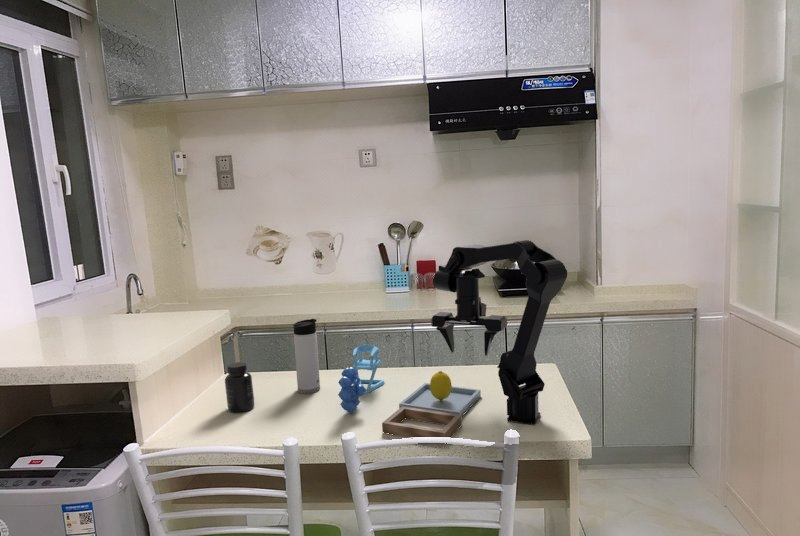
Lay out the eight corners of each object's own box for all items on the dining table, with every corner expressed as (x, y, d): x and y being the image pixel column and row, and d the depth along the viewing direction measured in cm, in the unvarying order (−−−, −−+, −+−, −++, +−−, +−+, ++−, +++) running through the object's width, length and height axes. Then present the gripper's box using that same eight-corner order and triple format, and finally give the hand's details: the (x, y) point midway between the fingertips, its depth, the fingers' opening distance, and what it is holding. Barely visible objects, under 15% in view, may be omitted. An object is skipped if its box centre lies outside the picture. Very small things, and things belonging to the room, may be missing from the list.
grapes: (361, 422, 134) (358, 374, 133) (334, 421, 136) (331, 374, 134) (373, 404, 146) (371, 359, 144) (348, 403, 147) (346, 359, 145)
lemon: (450, 405, 141) (450, 374, 140) (429, 404, 142) (428, 374, 141) (452, 397, 146) (452, 367, 145) (431, 396, 147) (430, 367, 146)
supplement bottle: (246, 401, 152) (242, 358, 150) (259, 407, 147) (255, 363, 145) (222, 409, 147) (218, 365, 145) (235, 415, 142) (231, 370, 141)
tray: (480, 396, 148) (480, 389, 147) (459, 419, 134) (459, 412, 133) (425, 389, 155) (424, 383, 155) (399, 410, 141) (399, 403, 140)
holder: (462, 425, 130) (461, 415, 130) (445, 444, 121) (444, 433, 121) (402, 416, 137) (402, 406, 137) (382, 433, 128) (382, 422, 128)
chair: (350, 392, 155) (347, 350, 154) (359, 381, 163) (356, 342, 162) (376, 393, 154) (374, 351, 152) (384, 382, 162) (382, 342, 160)
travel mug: (325, 389, 158) (320, 320, 155) (303, 395, 155) (298, 324, 152) (315, 383, 163) (310, 316, 161) (294, 389, 160) (289, 320, 157)
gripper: (512, 290, 146) (513, 348, 148) (445, 287, 154) (447, 342, 156) (499, 298, 136) (501, 360, 138) (429, 295, 144) (431, 353, 147)
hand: (469, 353), depth 145 cm, fingers open, 9 cm apart
